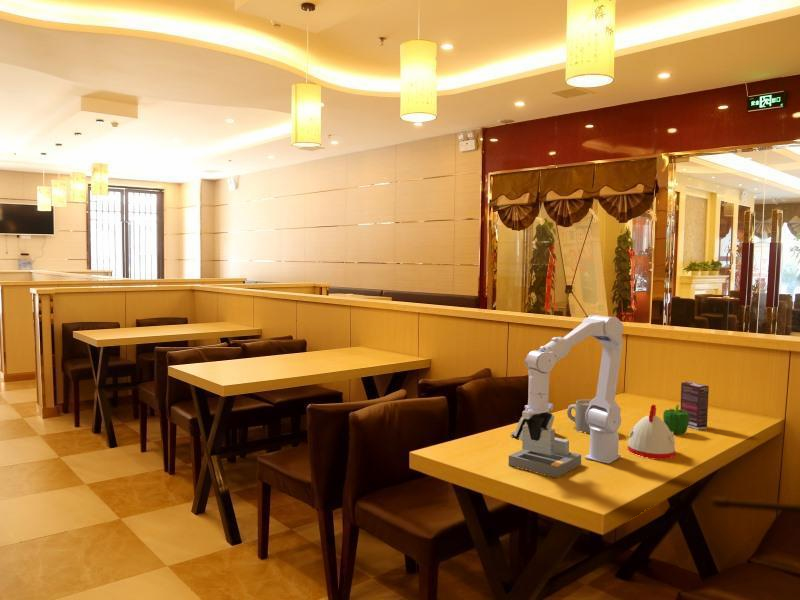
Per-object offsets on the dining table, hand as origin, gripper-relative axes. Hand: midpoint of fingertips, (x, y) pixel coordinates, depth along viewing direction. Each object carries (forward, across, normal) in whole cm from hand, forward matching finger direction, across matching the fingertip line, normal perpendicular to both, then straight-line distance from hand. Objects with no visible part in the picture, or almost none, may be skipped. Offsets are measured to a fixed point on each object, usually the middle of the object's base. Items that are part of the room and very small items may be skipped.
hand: (537, 438), depth 179 cm
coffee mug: (+9, -50, -8) cm, 52 cm away
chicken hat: (+9, -40, +19) cm, 45 cm away
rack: (+9, -5, 0) cm, 10 cm away
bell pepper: (+9, -68, +18) cm, 70 cm away
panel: (+4, 0, 0) cm, 4 cm away
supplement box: (+9, -80, +20) cm, 83 cm away
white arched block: (+9, -31, -18) cm, 37 cm away
